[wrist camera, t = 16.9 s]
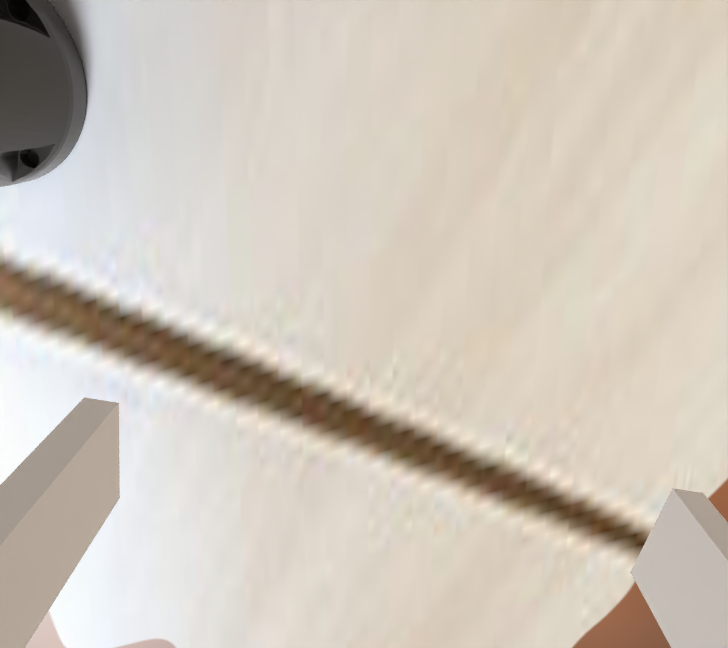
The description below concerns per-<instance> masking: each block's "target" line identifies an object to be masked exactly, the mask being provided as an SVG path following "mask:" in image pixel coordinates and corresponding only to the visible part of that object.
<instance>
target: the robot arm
mask: <svg viewBox="0 0 728 648" xmlns="http://www.w3.org/2000/svg"><path fill="white" fill-rule="evenodd" d="M85 112H86V85H85V77H84V72H83V68H82V64H81V60H80V57H79V54H78V51H77V49H76V46H75V44H74V42H73V40H72V38H71V35H70V33H69V32H68V30H67V28H66V26H65V24H64V23H63V21H62V20H61V18H60V17H59V15H58V14H57V12H56V11H55V10H54V8H53V7H52V6H51V5H50V3H49V2H48V1H47V0H0V187H1V186H8V185H13V184H18V183H22V182H26V181H30V180H33V179H36V178H39V177H41V176H43V175H45V174H47V173H49V172H50V171H52V170H53V169H55V168H56V167H57V166H58V165H60V164H61V163H62V162H63V161H64V160H65V159H66V157H67V156H68V155H69V154H70V152H71V151H72V149H73V148H74V146H75V144H76V142H77V140H78V138H79V136H80V133H81V130H82V127H83V123H84V119H85ZM119 498H120V495H119V403H115V402H109V401H102V400H96V399H89V398H84V399H83V400H82V401H81V402H80V403H79V404H78V405H77V406H76V407H75V408H74V409H73V410H72V411H71V412H70V413H69V414H68V415H67V416H66V417H65V418H64V419H63V420H62V422H61V423H60V424H59V425H58V426H57V427H56V428H55V429H54V430H53V431H52V432H51V433H50V434H49V435H48V436H47V437H46V438H45V439H44V440H43V441H42V442H41V443H40V444H39V446H38V447H37V448H36V449H35V450H34V451H33V452H32V453H31V454H30V455H29V456H28V457H27V458H26V459H25V460H24V461H23V462H22V463H21V464H20V465H19V466H18V467H17V468H16V469H15V471H14V472H13V473H12V474H11V475H10V476H9V477H8V478H7V479H6V480H5V481H4V482H3V483H2V484H1V485H0V648H25V646H26V645H27V643H28V642H29V640H30V639H31V637H32V635H33V634H34V632H35V631H36V629H37V628H38V626H39V624H40V623H41V621H42V620H43V618H44V616H45V615H46V613H47V612H48V610H49V609H50V607H51V605H52V604H53V602H54V601H55V599H56V597H57V596H58V594H59V593H60V591H61V590H62V588H63V586H64V585H65V583H66V582H67V580H68V578H69V577H70V575H71V574H72V572H73V571H74V569H75V567H76V566H77V564H78V563H79V561H80V560H81V558H82V556H83V555H84V553H85V552H86V550H87V548H88V547H89V545H90V544H91V542H92V541H93V539H94V537H95V536H96V534H97V533H98V531H99V530H100V528H101V526H102V525H103V523H104V522H105V520H106V518H107V517H108V515H109V514H110V512H111V511H112V509H113V507H114V506H115V504H116V503H117V501H118V499H119ZM631 574H632V576H633V578H634V579H635V581H636V583H637V585H638V587H639V589H640V591H641V592H642V594H643V596H644V598H645V600H646V602H647V603H648V605H649V607H650V609H651V611H652V613H653V615H654V617H655V618H656V620H657V622H658V624H659V626H660V627H661V629H662V631H663V633H664V635H665V637H666V639H667V640H668V642H669V644H670V646H671V648H728V523H727V521H726V520H725V519H724V518H723V517H722V516H721V514H720V513H719V512H718V511H717V509H716V508H715V507H714V506H713V505H712V503H711V502H710V501H709V500H708V499H707V497H706V496H705V495H704V494H703V493H698V492H692V491H685V490H679V489H672V491H671V493H670V495H669V497H668V499H667V501H666V503H665V505H664V507H663V509H662V511H661V513H660V515H659V517H658V518H657V520H656V522H655V524H654V526H653V528H652V530H651V532H650V534H649V536H648V538H647V540H646V542H645V544H644V546H643V548H642V550H641V552H640V554H639V556H638V558H637V560H636V562H635V564H634V566H633V568H632V570H631Z"/></svg>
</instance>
